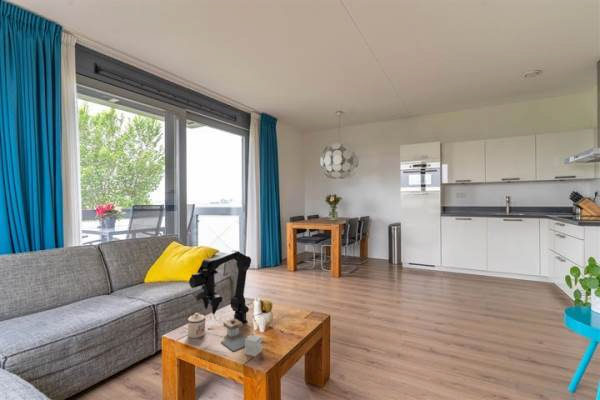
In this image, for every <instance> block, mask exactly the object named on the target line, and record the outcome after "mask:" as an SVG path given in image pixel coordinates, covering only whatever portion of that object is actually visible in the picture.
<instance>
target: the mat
mask: <svg viewBox="0 0 600 400" xmlns="http://www.w3.org/2000/svg"><path fill="white" fill-rule="evenodd" d="M246 338H247V337H246V336H244V335H243V334H240V333H239V334H238V335H236V336H231V337H230V338H227V339H224V340H221V341H220V343H221V344H222V345H223V346H224V347H226V348H227V349H228V350H230V351H231V352H237V351H239V350H242V349H245V339H246Z"/></svg>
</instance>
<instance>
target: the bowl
mask: <svg viewBox="0 0 600 400" xmlns="http://www.w3.org/2000/svg"><path fill="white" fill-rule="evenodd" d="M226 335H227V336H229V337H235V336H238V335H240V327H239V328H236V329H233V330H231V331H230V330H229V329H227V328H226Z"/></svg>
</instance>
